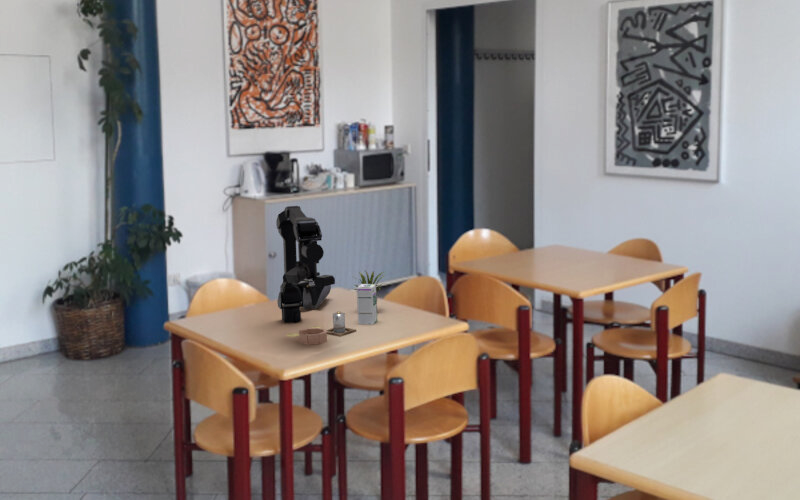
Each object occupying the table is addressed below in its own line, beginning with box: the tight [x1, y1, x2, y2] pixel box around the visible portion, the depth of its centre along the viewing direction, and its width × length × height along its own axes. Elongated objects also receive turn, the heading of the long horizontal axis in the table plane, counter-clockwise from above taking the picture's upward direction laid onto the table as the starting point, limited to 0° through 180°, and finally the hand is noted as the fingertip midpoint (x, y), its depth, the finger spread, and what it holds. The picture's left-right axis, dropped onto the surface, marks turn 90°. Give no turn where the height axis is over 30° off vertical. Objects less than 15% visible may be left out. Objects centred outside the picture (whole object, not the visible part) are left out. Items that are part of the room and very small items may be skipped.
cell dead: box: [303, 285, 317, 310], centre depth 295 cm, size 4×4×8 cm
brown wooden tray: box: [326, 327, 357, 338], centre depth 307 cm, size 8×8×2 cm
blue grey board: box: [286, 325, 324, 338], centre depth 309 cm, size 8×18×2 cm, turn 142°
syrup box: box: [356, 283, 378, 326], centre depth 319 cm, size 6×6×14 cm
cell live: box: [332, 311, 346, 333], centre depth 306 cm, size 4×4×8 cm
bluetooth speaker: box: [301, 282, 332, 309], centre depth 352 cm, size 23×9×10 cm, turn 172°
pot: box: [298, 327, 328, 345], centre depth 297 cm, size 9×9×4 cm
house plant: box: [353, 270, 386, 301], centre depth 339 cm, size 14×14×16 cm
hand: (309, 304), depth 296 cm, fingers closed on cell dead, 4 cm apart
